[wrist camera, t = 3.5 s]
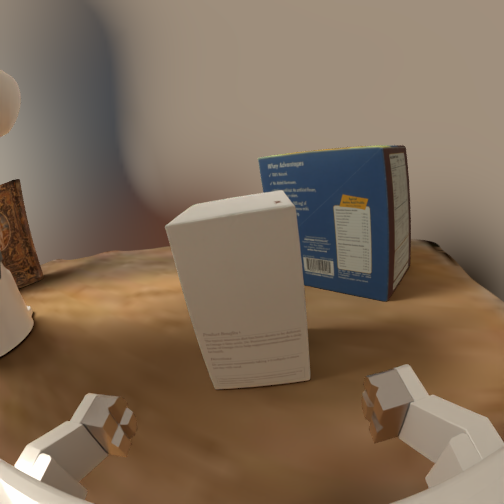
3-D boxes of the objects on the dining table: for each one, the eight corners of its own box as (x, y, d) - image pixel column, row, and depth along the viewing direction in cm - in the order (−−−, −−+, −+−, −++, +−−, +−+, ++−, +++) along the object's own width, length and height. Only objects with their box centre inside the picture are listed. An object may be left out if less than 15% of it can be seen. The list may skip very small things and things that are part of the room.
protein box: (314, 253, 44) (303, 152, 39) (410, 266, 33) (407, 145, 28) (272, 280, 37) (254, 157, 32) (388, 303, 26) (384, 144, 21)
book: (44, 274, 58) (21, 180, 50) (42, 279, 53) (17, 178, 46) (-4, 292, 49) (-29, 200, 41) (-8, 299, 45) (-35, 200, 37)
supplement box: (301, 327, 25) (286, 188, 21) (311, 383, 18) (297, 202, 14) (222, 336, 26) (193, 202, 22) (210, 391, 19) (161, 222, 15)
